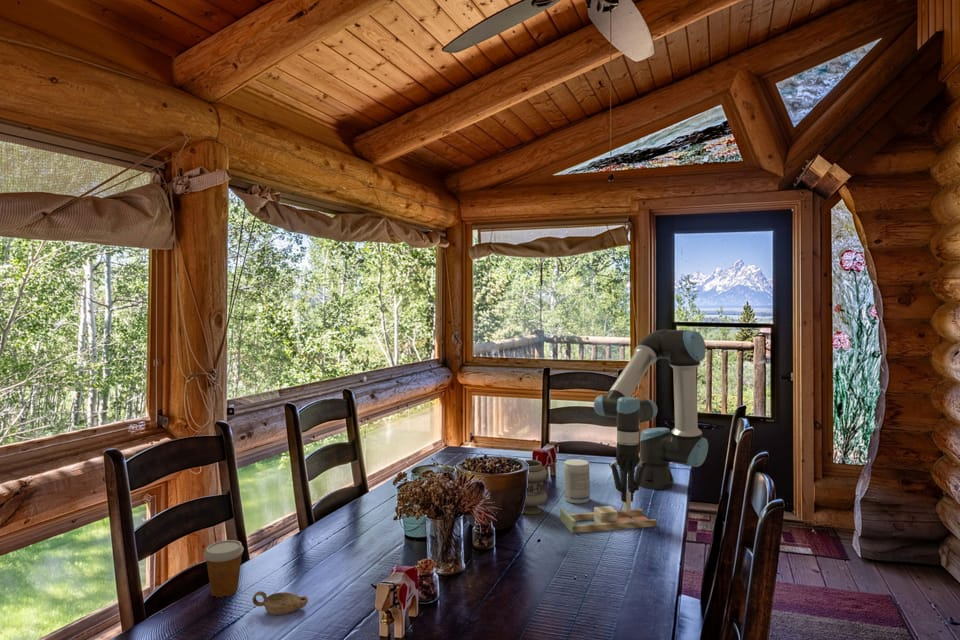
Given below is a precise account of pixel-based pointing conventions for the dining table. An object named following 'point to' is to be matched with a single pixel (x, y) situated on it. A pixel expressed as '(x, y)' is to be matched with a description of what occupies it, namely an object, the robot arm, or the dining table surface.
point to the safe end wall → (567, 520)
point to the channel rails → (612, 524)
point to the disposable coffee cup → (224, 566)
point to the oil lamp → (280, 602)
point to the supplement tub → (576, 481)
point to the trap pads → (639, 517)
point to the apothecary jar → (535, 489)
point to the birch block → (605, 514)
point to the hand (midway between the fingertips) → (627, 510)
